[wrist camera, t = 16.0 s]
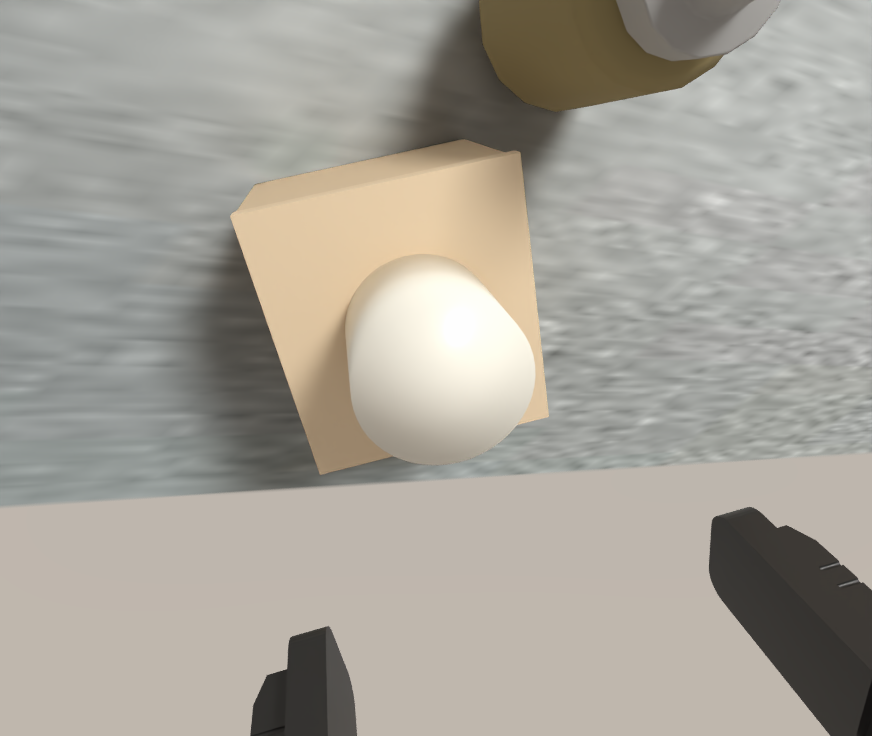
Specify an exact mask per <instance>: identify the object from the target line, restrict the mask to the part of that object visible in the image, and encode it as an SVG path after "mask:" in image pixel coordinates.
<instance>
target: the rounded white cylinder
mask: <svg viewBox="0 0 872 736" xmlns="http://www.w3.org/2000/svg"><path fill="white" fill-rule="evenodd" d="M345 338H346V349H347V360H348V371H349V382H350V393H351V401H352V406H353V410H354V413H355V416H356V418H357V420H358V422H359V424H360V426H361V428H362V429H363V431H364V432H365V433H366V435H367V436H368V437H369V438H370V439H371V440H372V441H373V442H374V443H375V444H376V445H377V446H378V447H380V448H381V449H382V450H384V451H385V452H387V453H389V454H390V455H392V456H394V457H397V458H399V459H402V460H404V461H408V462H412V463H416V464H423V465H446V464H452V463H457V462H461V461H465V460H468V459H471V458H473V457H476V456H478V455H480V454H482V453H484V452H486V451H488V450H489V449H491V448H492V447H494V446H495V445H497V444H498V443H499V442H501V441H502V440H503V439H504V438H505V437H506V436H507V435H509V433H510V432H511V431H512V430H513V429H514V428H515V427H516V426H517V424H518V423H519V421H520V420H521V418H522V417H523V415H524V413H525V412H526V410H527V408H528V405H529V403H530V400H531V398H532V394H533V390H534V385H535V362H534V356H533V353H532V350H531V347H530V344H529V342H528V340H527V338H526V336H525V334H524V333H523V332H522V330H521V329H520V328H519V326H518V325H517V324H516V323H515V321H514V320H513V319H512V318H511V317H510V315H509V314H508V313H507V312H506V311H505V310H504V308H503V307H502V306H501V305H500V304H499V302H498V301H497V300H496V299H495V298H494V296H493V295H492V294H491V293H490V292H489V290H488V289H487V288H486V287H485V286H484V285H483V283H482V282H481V281H480V280H479V279H478V278H477V277H476V275H475V274H474V273H473V272H472V271H470V270H469V269H468V268H466V267H465V266H463V265H462V264H460V263H458V262H456V261H454V260H452V259H449V258H447V257H443V256H439V255H431V254H415V255H408V256H404V257H400V258H397V259H394V260H392V261H390V262H388V263H386V264H384V265H382V266H381V267H379V268H377V269H376V270H375V271H374V272H372V273H371V274H370V275H369V276H368V277H367V278H366V279H365V280H364V281H363V282H362V283H361V285H360V286H359V287H358V289H357V290H356V292H355V294H354V295H353V297H352V299H351V302H350V304H349V307H348V310H347V314H346V320H345Z"/></svg>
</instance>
